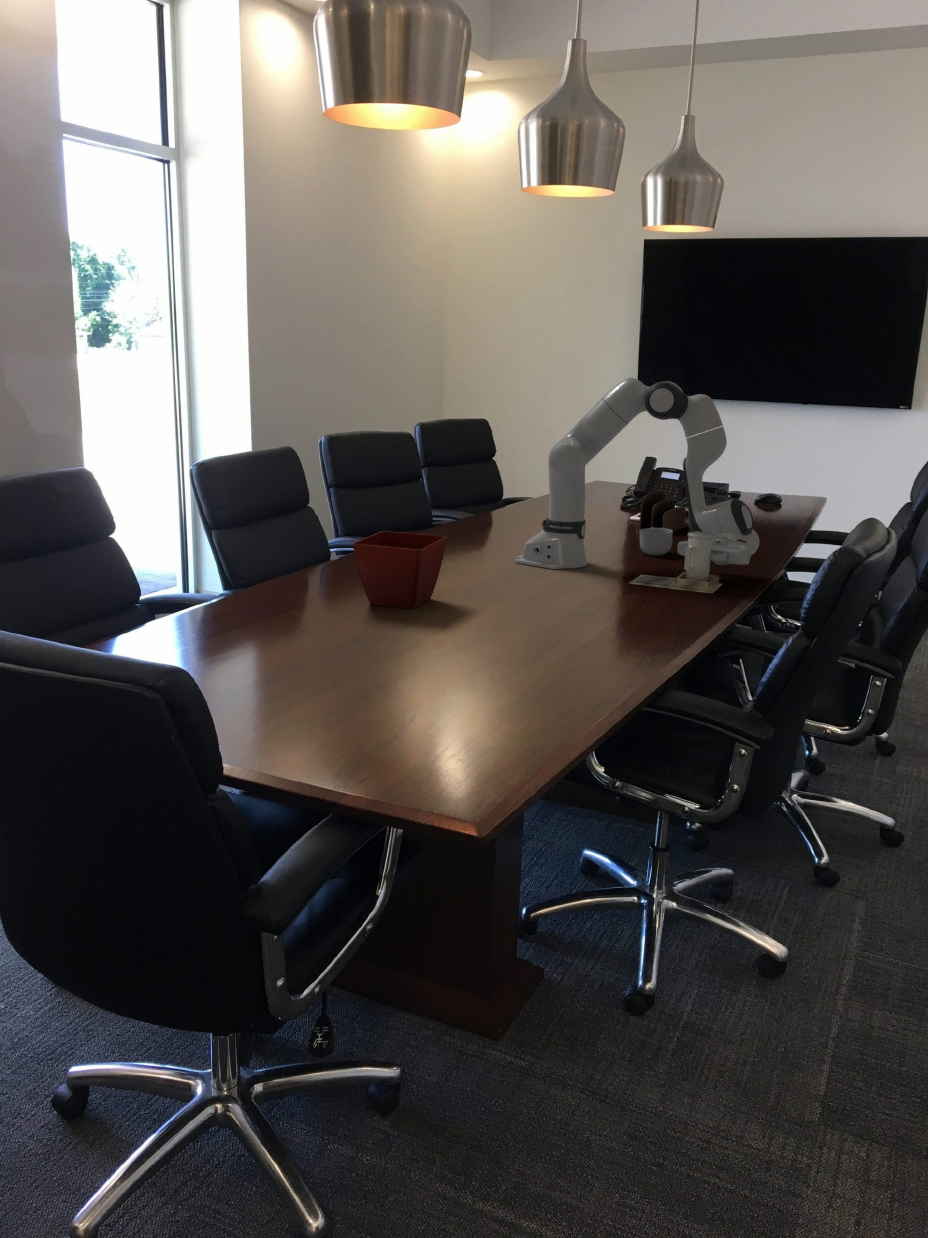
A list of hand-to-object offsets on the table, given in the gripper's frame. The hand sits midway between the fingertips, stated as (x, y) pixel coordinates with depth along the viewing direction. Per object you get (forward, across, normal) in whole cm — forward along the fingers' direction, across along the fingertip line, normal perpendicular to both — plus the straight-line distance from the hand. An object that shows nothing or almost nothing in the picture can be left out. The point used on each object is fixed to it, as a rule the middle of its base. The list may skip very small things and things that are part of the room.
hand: (698, 555), depth 281 cm
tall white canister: (+1, 0, +9) cm, 9 cm away
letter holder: (-77, -60, +10) cm, 98 cm away
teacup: (-37, -37, +10) cm, 53 cm away
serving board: (+2, -6, +10) cm, 12 cm away
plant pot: (+70, -48, +10) cm, 85 cm away
